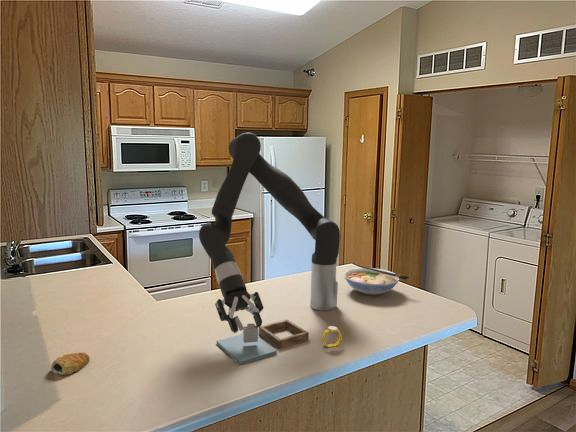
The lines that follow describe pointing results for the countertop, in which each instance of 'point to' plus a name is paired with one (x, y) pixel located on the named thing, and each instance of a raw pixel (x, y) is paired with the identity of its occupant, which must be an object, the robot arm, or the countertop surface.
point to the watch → (332, 329)
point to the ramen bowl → (372, 280)
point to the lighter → (248, 331)
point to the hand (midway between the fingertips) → (248, 328)
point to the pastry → (70, 363)
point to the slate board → (245, 349)
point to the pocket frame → (299, 337)
